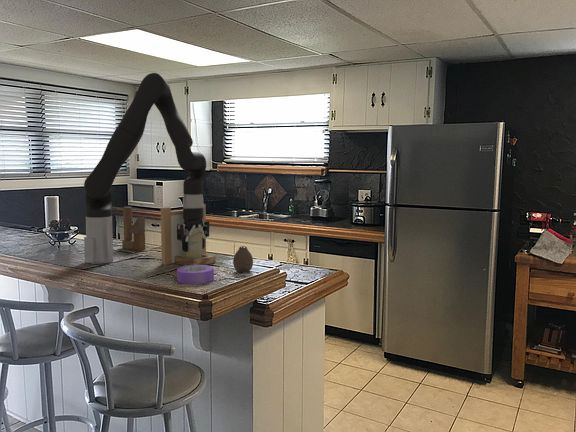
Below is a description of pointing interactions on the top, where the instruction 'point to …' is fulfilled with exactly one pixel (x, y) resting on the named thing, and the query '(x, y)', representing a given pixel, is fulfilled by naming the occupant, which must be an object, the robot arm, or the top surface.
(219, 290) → the top surface
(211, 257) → the rail slot
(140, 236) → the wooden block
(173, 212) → the headboard panel
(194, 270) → the masking tape
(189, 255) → the skincare box
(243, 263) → the vase
